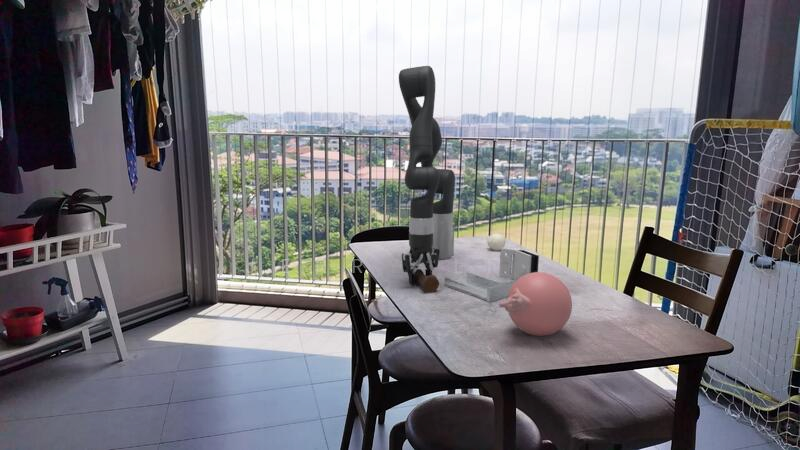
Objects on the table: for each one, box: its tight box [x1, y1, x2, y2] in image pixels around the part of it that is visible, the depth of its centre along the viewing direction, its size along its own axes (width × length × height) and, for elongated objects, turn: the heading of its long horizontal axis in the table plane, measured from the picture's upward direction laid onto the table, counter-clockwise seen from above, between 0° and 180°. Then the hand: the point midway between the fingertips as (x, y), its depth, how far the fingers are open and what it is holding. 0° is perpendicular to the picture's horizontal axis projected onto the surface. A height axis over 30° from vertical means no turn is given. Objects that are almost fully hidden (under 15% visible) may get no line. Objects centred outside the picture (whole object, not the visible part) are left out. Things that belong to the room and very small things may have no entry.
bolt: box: [407, 268, 440, 294], centre depth 167 cm, size 6×5×15 cm
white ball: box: [486, 232, 506, 251], centre depth 212 cm, size 7×7×7 cm
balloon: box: [498, 271, 573, 337], centre depth 129 cm, size 15×20×15 cm
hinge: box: [498, 247, 540, 282], centre depth 172 cm, size 14×5×10 cm, turn 37°
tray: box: [443, 271, 516, 303], centre depth 163 cm, size 11×19×4 cm, turn 38°
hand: (420, 282), depth 168 cm, fingers closed on bolt, 6 cm apart
